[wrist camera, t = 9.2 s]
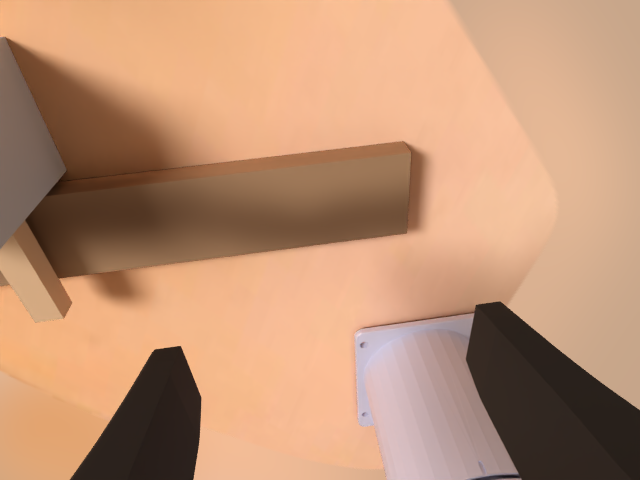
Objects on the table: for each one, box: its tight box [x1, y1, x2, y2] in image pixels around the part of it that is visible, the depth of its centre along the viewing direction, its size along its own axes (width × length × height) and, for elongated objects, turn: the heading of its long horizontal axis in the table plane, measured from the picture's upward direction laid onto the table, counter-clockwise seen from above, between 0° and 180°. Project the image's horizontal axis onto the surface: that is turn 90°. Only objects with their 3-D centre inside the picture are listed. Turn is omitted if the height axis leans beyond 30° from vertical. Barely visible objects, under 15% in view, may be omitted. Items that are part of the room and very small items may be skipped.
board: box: [0, 141, 411, 286], centre depth 18 cm, size 4×22×1 cm, turn 94°
